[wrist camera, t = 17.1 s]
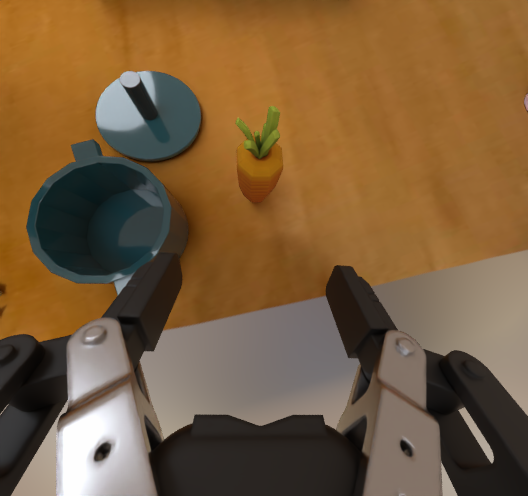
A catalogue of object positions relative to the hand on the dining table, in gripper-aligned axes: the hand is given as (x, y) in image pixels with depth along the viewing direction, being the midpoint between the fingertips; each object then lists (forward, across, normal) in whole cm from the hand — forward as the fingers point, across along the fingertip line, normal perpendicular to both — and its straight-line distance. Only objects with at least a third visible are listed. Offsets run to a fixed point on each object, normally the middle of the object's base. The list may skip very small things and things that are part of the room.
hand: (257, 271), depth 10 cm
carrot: (+21, 0, +4) cm, 21 cm away
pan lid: (+28, +16, -4) cm, 33 cm away
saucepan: (+16, +16, +9) cm, 24 cm away
